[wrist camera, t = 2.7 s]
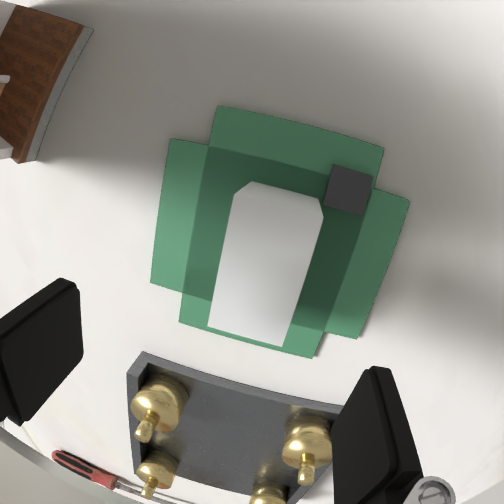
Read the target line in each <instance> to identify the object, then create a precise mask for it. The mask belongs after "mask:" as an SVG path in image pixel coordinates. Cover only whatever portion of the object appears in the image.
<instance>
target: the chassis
mask: <svg viewBox="0 0 504 504" xmlns="http://www.w3.org/2000/svg"><path fill="white" fill-rule="evenodd" d="M126 374H127V398H128V415H129V428H130V439H131V449H132V459H133V467H134V474H136V475H137V476H138V477H139V478H140V479H141V480H142V481H144V482H145V485H144V487H143V489H142V492H141V494H140V495H141V496H142V497H143V498H145V499H149V500H150V499H151V498H152V496H153V493H154V491H155V489H156V488H161V489H169V488H170V487H171V485H172V482H173V480H174V477H175V475H177V476H180V477H183V478H186V479H189V480H192V481H195V482H199V483H202V484H205V485H209V486H213V487H216V488H220V489H224V490H228V491H232V492H236V493H241V494H245V495H250V496H251V497H250V502H249V504H296V503H297V502H298V501H299V500H300V499H301V497H302V496H303V495H304V494H305V493H306V492H307V491H308V490H309V488H310V487H311V486H312V485H313V484H314V483H315V481H316V480H317V479H318V478H319V477H320V476H321V474H322V473H323V472H324V471H325V470H326V468H327V467H328V466H329V465H330V463H331V462H332V444H331V429H332V426H333V423H334V422H335V420H336V419H337V417H338V415H339V414H340V412H341V410H342V409H343V407H344V406H339V405H334V404H328V403H323V402H318V401H313V400H308V399H303V398H298V397H294V396H289V395H285V394H281V393H276V392H272V391H268V390H264V389H260V388H256V387H252V386H249V385H245V384H241V383H238V382H234V381H230V380H227V379H223V378H220V377H217V376H213V375H210V374H207V373H204V372H200V371H197V370H194V369H191V368H188V367H185V366H182V365H179V364H176V363H173V362H170V361H167V360H165V359H162V358H159V357H156V356H153V355H151V354H148V353H145V352H143V351H142V352H141V354H140V355H139V356H138V358H137V359H136V360H135V362H134V363H133V364H132V366H131V367H130V369H129V370H128V371H127V373H126Z"/></svg>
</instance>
